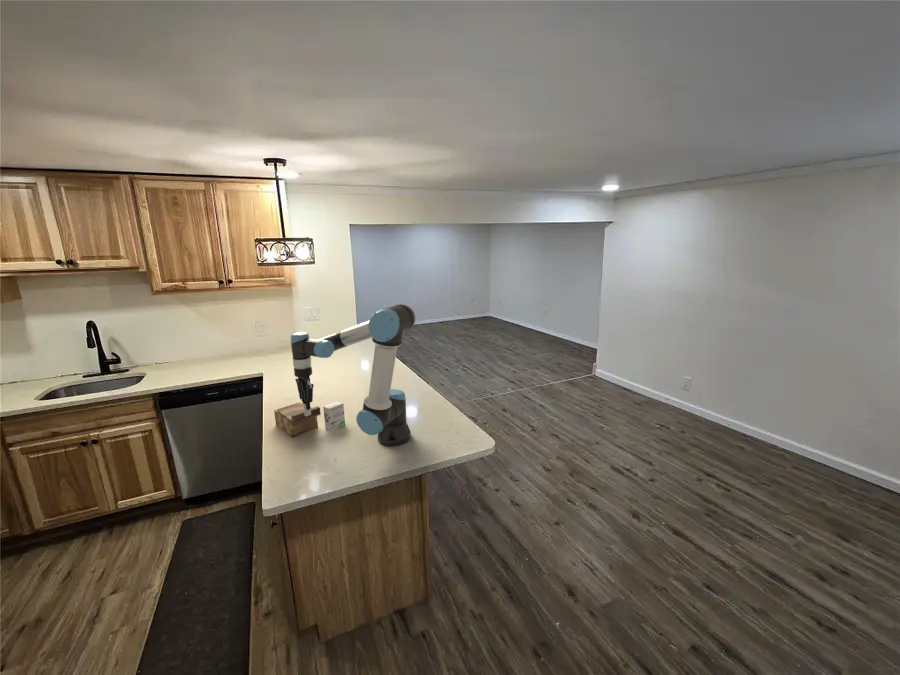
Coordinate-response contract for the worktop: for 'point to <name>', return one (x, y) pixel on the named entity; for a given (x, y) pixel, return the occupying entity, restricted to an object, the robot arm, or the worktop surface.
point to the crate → (297, 427)
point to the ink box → (334, 415)
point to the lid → (298, 413)
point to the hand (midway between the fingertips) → (307, 415)
